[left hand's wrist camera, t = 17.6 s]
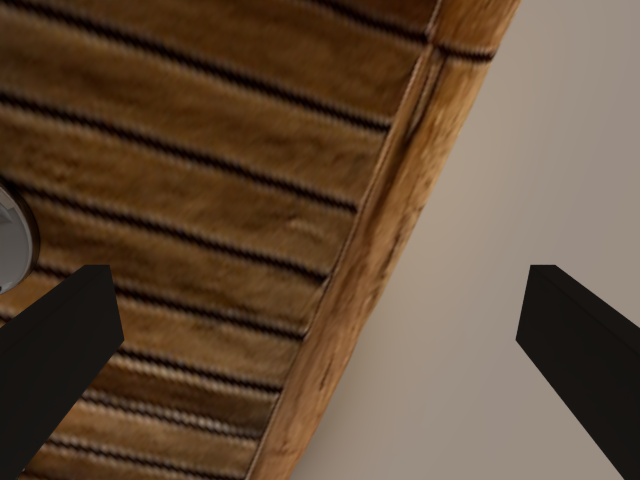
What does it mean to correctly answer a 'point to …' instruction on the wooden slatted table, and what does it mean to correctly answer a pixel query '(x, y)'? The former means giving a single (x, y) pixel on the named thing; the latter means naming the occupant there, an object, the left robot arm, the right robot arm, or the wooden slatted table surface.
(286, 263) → the wooden slatted table surface
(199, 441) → the wooden slatted table surface
